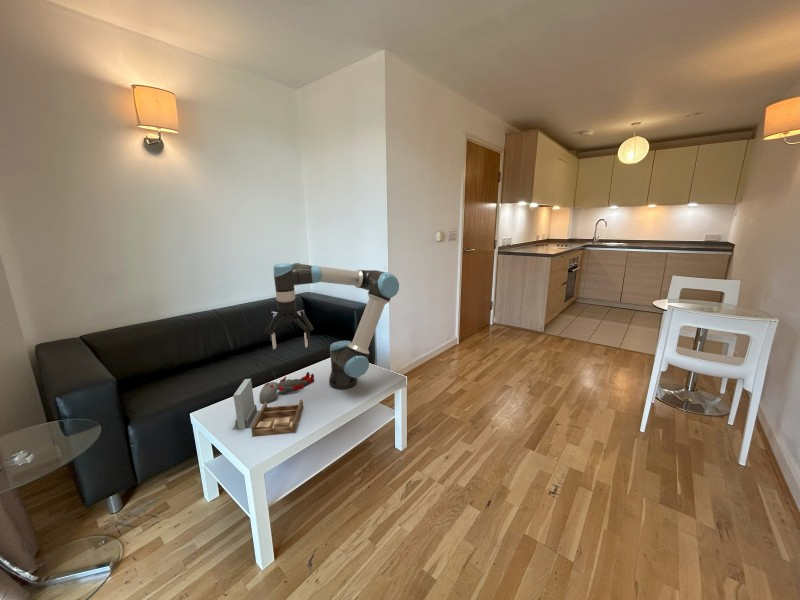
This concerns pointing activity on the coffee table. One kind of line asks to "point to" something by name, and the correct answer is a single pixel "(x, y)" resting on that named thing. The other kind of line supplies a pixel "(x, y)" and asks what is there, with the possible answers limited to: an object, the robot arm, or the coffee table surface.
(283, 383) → the toy
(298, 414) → the rack
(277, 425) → the offcut
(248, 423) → the stand
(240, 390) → the grey flat slab
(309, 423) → the coffee table surface
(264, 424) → the offcut
